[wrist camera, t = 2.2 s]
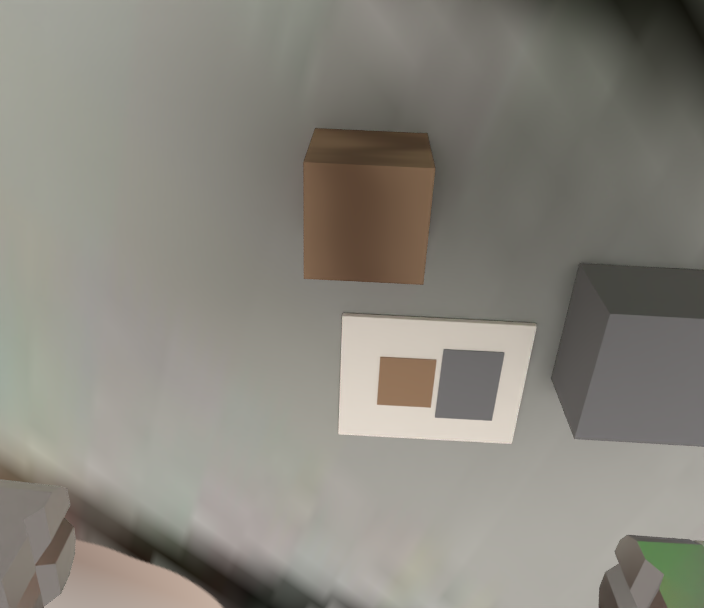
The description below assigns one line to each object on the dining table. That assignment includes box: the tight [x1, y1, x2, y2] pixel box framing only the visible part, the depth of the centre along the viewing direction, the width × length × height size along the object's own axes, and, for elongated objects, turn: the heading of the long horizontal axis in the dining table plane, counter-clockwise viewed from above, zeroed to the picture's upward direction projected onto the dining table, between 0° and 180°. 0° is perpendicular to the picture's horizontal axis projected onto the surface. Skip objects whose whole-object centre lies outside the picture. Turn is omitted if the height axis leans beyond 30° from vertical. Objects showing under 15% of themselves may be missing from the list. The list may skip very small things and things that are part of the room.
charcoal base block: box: [551, 263, 704, 447], centre depth 31 cm, size 7×7×5 cm
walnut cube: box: [303, 128, 435, 285], centre depth 28 cm, size 5×5×5 cm
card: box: [338, 313, 537, 444], centre depth 35 cm, size 10×8×1 cm
